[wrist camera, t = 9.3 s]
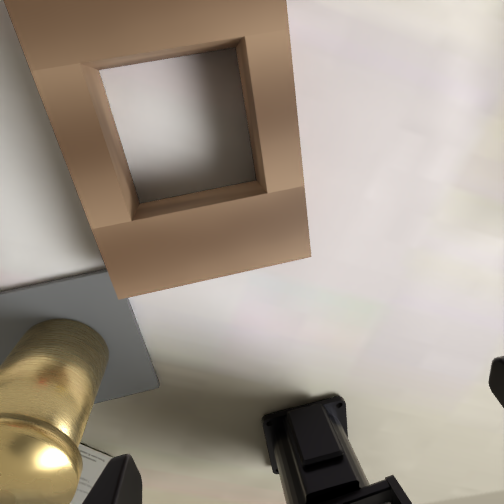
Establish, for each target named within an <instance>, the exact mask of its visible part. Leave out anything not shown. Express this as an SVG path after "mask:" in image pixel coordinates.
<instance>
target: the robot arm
mask: <svg viewBox="0 0 504 504" xmlns="http://www.w3.org/2000/svg"><path fill="white" fill-rule="evenodd" d="M489 386H490V389H491V391H492V393H493V394H494V395H495V397H496V398H497V400H498V401H499V402H500V404H501V405H502V406H503V408H504V356H501V357H497V358H494V360H493V361H492V365H491V370H490V376H489ZM262 423H263V428H264V433H265V438H266V442H267V447H268V452H269V456H270V461H271V466H272V470H273V473H275V474H279V475H280V479H281V483H282V487H283V491H284V495H285V499H286V504H412V503H411V501H410V500H409V498H408V497H407V495H406V494H405V492H404V491H403V489H402V488H401V486H400V485H399V483H398V481H397V480H396V478H395V477H394V476H393V475H391V476H388V477H385V480H382V481H379V482H377V483H374V484H371V485H369V482H368V480H367V478H366V476H365V474H364V472H363V470H362V468H361V465H360V463H359V461H358V459H357V457H356V455H355V453H354V451H353V448H352V446H351V444H350V442H349V440H348V433H347V417H346V403H345V401H344V399H343V398H342V397H340V396H337V397H333V398H329V399H326V400H322V401H318V402H314V403H310V404H306V405H303V406H299V407H295V408H291V409H287V410H283V411H279V412H276V413H272V414H268V415H265V416H264V417H263V418H262ZM82 504H142V479H141V475H140V473H139V471H138V469H137V467H136V464H135V462H134V460H133V458H132V456H131V455H130V454H125V455H121V456H117V457H114V458H112V459H111V460H110V461H109V462H108V463H107V465H106V466H105V468H104V470H103V471H102V473H101V474H100V476H99V478H98V479H97V481H96V482H95V484H94V485H93V487H92V489H91V490H90V492H89V493H88V495H87V496H86V498H85V500H84V501H83V503H82Z"/></svg>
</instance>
